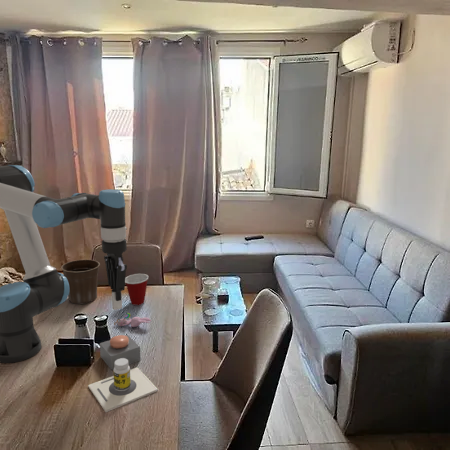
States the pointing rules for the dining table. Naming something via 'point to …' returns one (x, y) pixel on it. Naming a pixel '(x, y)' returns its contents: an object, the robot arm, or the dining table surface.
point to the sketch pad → (115, 398)
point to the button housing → (119, 353)
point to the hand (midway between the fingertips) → (117, 308)
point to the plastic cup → (136, 288)
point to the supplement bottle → (121, 374)
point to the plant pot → (81, 280)
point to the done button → (119, 341)
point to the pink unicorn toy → (132, 321)
